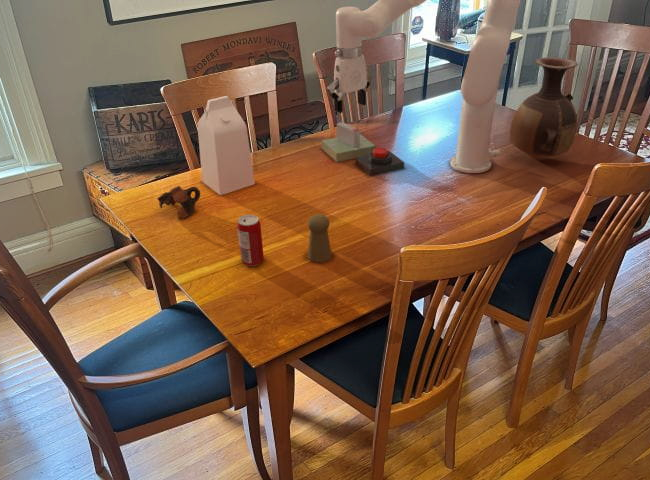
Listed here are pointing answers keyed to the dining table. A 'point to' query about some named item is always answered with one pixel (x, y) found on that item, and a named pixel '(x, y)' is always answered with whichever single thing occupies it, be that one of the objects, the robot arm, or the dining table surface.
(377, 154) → the tap button
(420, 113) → the dining table surface
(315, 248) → the brown pawn
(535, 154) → the vase
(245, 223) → the soda can
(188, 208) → the brown animal figurine
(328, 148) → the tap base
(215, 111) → the milk
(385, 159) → the button block
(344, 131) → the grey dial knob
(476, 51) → the robot arm
